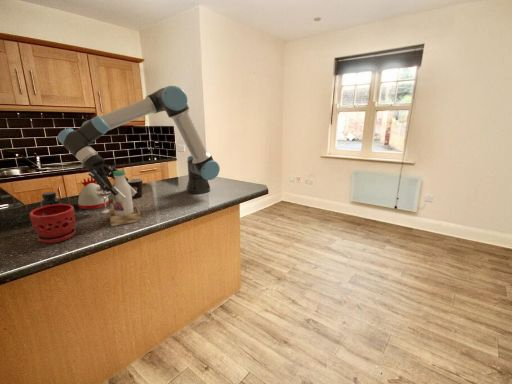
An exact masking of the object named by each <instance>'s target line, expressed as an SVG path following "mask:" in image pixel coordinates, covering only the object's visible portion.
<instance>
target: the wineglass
mask: <svg viewBox="0 0 512 384" xmlns="http://www.w3.org/2000/svg"><path fill="white" fill-rule="evenodd" d="M104 187H105V186H104ZM95 190H96V191H95V194H96V196H98V197H99V198H102V199H104V204H105V206H104V209H103V210H101V211H100V213H101V214H106V213H107V214H109V210H110V209H108V208H107V205H106V200H105V199H106V198H107V197H108V198H109V197H110V196H112V193H111V192H110V191H109V192H107V190H106V191H104V190H103V189H102V188H101V187H97V188H95Z"/></svg>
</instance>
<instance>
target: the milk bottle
mask: <svg viewBox="0 0 512 384" xmlns="http://www.w3.org/2000/svg"><path fill="white" fill-rule="evenodd" d="M113 175H114V179H113V184H112V186H113V187H116V188H117V189H118V190H119V191H120V192H121V193H122V194H123V195H124V196H125V197H126V198H125V199H124V200H123V201H122V202H121V201H120V200H119V199H118V198H117V197H116V196H115V195H113V194H112V193H111V197H112V202H113V203H112V205H113V209H114V212H115V215H116V216H119V217H120V216H126V215H131V214H133V212H134V211H133V207H134V204H133V198H132V194H131V189H130V186H129V184H128V183H127V181H126V179H125V177H126V171H125V170H118V171H114V172H113Z"/></svg>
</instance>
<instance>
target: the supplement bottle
mask: <svg viewBox="0 0 512 384" xmlns="http://www.w3.org/2000/svg"><path fill="white" fill-rule="evenodd" d="M41 196H42V199H41V200H40V207H43V206H47V205H53V204H61V201H60V199H59V198H58V197H57V194H56V192H55V191H50V192H49V191H48V192H43V193H42V194H41ZM56 212H57V211H56V210H55V211H54V213H56ZM45 215H46V213H43V214H42V216H45ZM49 215H52V214H51V213H50V214H49Z"/></svg>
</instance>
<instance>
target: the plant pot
mask: <svg viewBox="0 0 512 384" xmlns="http://www.w3.org/2000/svg"><path fill="white" fill-rule="evenodd" d="M55 210H56V211H57V212H56V213H54V211H55ZM43 213H46V215H45V216H43ZM50 213H51V214H52V215H49V214H50ZM29 219H30V222H31V225H32V228H33V229H34V231H35V233H37V236H38V237H37V239H38V241H39V242H41V243H45V244H54V243H59V242H65V241H66V240H68V239H70V238H72V237H73V236H74V235H75V234H76V230H77V229H75V226H76V225H75V223H76V213H75V207H74V206H73V205H72V204H68V203H60V204H53V205H47V206H43V207H41V206H40V207H37V208H35V209H33V210H31V211H30V212H29Z"/></svg>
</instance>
